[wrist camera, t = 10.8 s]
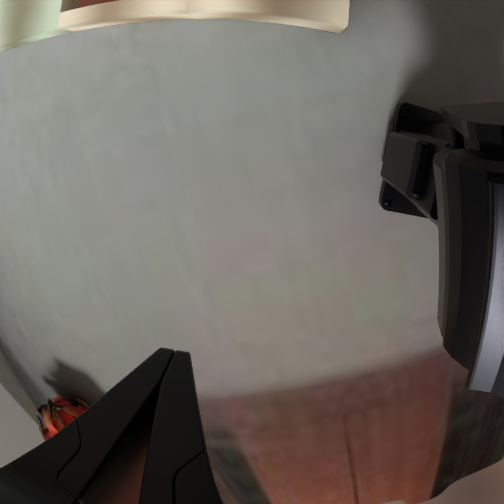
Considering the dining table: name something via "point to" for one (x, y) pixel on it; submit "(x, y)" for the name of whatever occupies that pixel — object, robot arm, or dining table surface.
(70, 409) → the dragon fruit
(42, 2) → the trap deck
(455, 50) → the dining table surface
